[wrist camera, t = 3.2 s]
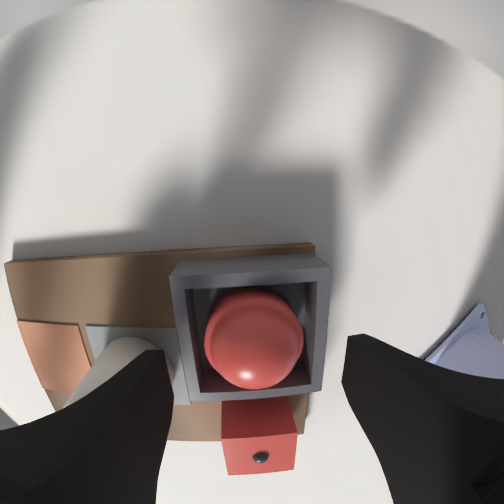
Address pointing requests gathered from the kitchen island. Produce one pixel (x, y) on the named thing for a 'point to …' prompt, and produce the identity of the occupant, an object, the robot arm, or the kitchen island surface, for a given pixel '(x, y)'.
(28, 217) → the kitchen island surface
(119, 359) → the ivory pawn
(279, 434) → the red block with knob
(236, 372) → the pop dome
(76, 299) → the game board
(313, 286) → the pop dome base
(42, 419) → the robot arm
